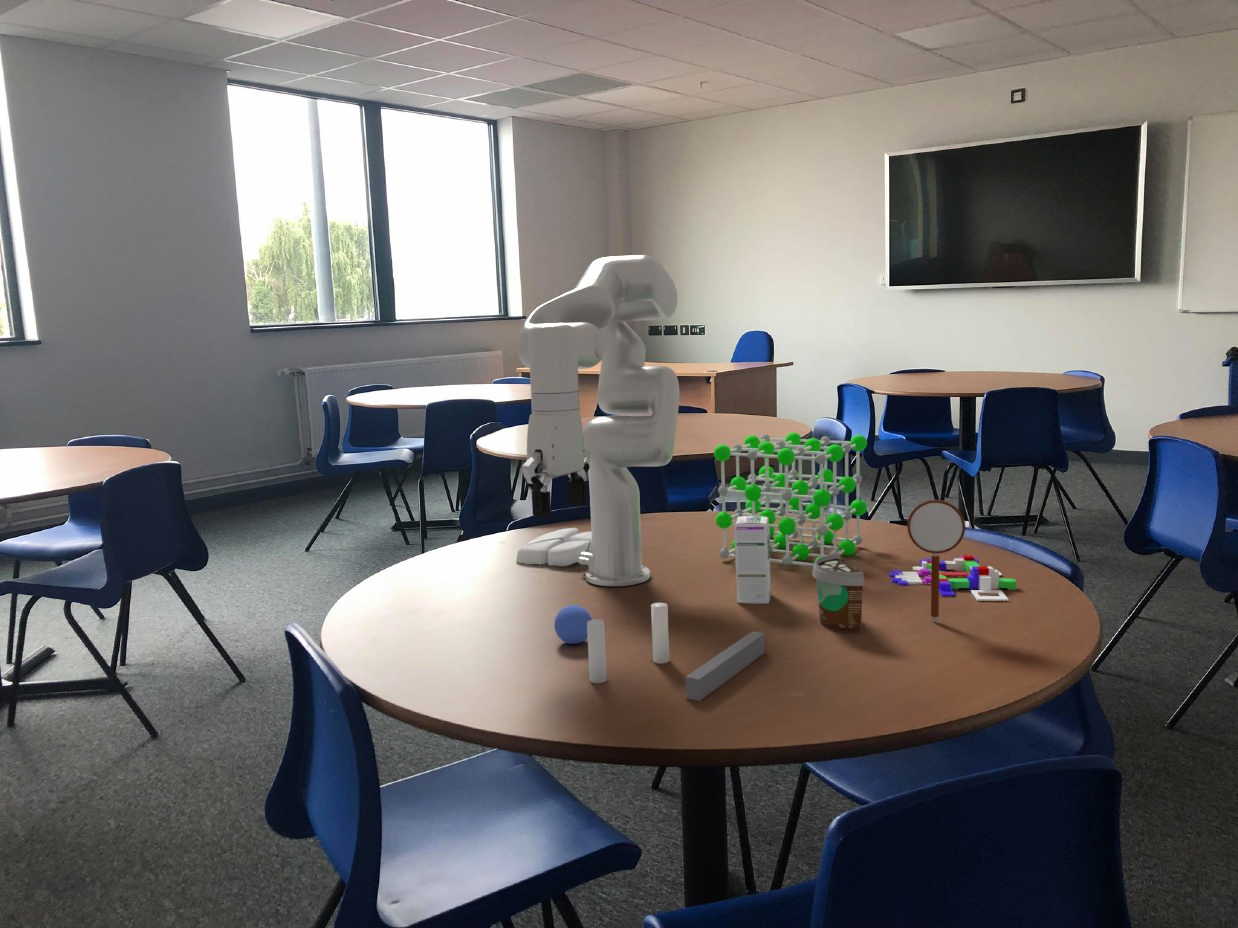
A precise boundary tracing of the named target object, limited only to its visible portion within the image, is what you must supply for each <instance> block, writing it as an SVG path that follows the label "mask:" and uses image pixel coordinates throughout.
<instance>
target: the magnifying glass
mask: <svg viewBox="0 0 1238 928" xmlns="http://www.w3.org/2000/svg"><path fill="white" fill-rule="evenodd" d="M906 525H907V533H908V536H909V538H910V540H911V541H912V543H913V544H914V545H915V546H916V547H918V548H919V549H920V550H922V551H923V552H926V553H930V554H932V555H931V559H932V562H931V584H930V616H931V621H933V623H936V622H937V621H938V617H940V615H939V610H940V609H939V608H940V593H939V561H940V555H939V554H944V553H947V552H950V551H951V550H953V549H955V548H956V547H957V546H958V545H960V543H961V542H962V540H963V538H964V536H965V532H966V522H965V519H964V516H963V514H962V513H961V511H960V510H959V509H958V508H957V507H956V505H954V504H952V503H951V502H949V501H946V500H943V499H930V500H926V501H923V502H921V503H919V504H918V505H917V506H915V508H913V509H912V511H911V513H910V514H909V516H908V519H907V524H906Z"/></svg>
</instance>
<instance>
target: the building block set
mask: <svg viewBox="0 0 1238 928" xmlns="http://www.w3.org/2000/svg"><path fill="white" fill-rule="evenodd" d="M931 562H932V558H924V559H919V564H920V563H921V564H920V566H918V565H917V566H912V570H914V571H918V572H914V571H903V570H901V569H899V570H897V569H895V570H893V569H892V572H888V576H889V578H890V579H891V582H892V583H894V584H897V585H898V584H899V585H908V586H909V585H929V584H928V583H931V576H928V575H931ZM979 563H980V561H979V559H978V558H977V557H976V558H975V557H974V555H961V556H960V557H957V558H956V557H955V558H953V560H944V561H943V560H942V561H941V560H939V592H940V593H939V595H940V594H941V595H942V596H955V597H956V593H955V592H954V590H952V589H968V588H969V589H978V588H979V590H970V591H971V593H972V594H973V595H974V597H975V598H976V600H977V601H979V600H980V601H983V600H984V601H985V600H986V601H988V600H989V601H991V600H992V601H996V600H997V601H999V600H1000V601H1001V600H1003V601H1005V600H1007V601H1008V602H1009V598H1008V597H1007V596H1006V595H1005V593H1004V592H1003V590H1001V589H1006V588H1009V589H1016V590H1017V580H1016V579H1015V578H1004V577H999V575H1002V576H1003V574H1002V573H1001V572H1000V571H999V570H998V569H994V567H993V566H989V565H988V566H981V565H980V564H979ZM921 565H922V566H921ZM947 570H953V571H947ZM940 571H946V572H940ZM955 571H964V572H955ZM919 576H925V577H924V578H921V577H919ZM946 576H967V577H951V578H948V577H946ZM891 577H894V578H891ZM919 583H920V584H919ZM921 583H922V584H921ZM923 583H924V584H923ZM925 583H927V584H925ZM899 585H898V586H899ZM992 588H993V589H994V588H998V590H991V589H992ZM971 593H970V594H971ZM978 593H997V594H998V595H999V596H998V595H997V594H996V595H981V594H978ZM972 594H971V595H972ZM941 595H940V596H941ZM973 595H972V596H973ZM942 596H941V597H942ZM974 597H973V598H974ZM975 598H974V599H975ZM976 600H975V601H976ZM977 601H976V602H977Z"/></svg>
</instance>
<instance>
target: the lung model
mask: <svg viewBox="0 0 1238 928" xmlns="http://www.w3.org/2000/svg"><path fill="white" fill-rule="evenodd" d="M582 552H587V553H591V554H593V552H592V530H591V531H583V532H580V533H579V529H578V528H576V527H569V528H568V527H567V528H560V529H557V530H554V531H551V532H547V533H544V534H541V535H539V536H538V537H535V538H534V539H532V540H530V541H528V542H527V544H525V545H522V547H520V548H519V549H518V551H517V554H516V555H517V556H516V559H515V561H516V563H517V562H519V563H518V564H522V563H525V564H524V565H530V564H539V565H538V566H542V565H541V564H543V565H546V564H547V565H548V566H549V565H556V566H555V567H568V566H570V565H573V564H575V563H579V562H578V559H579V558H580V555H581V553H582ZM547 562H548V563H547ZM545 563H546V564H545Z"/></svg>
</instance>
